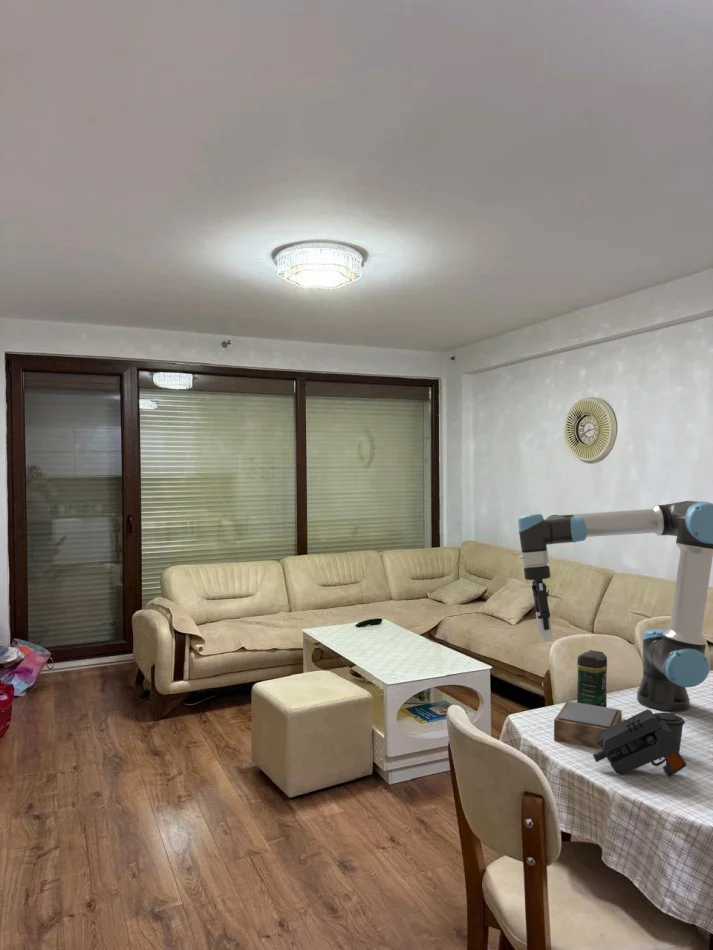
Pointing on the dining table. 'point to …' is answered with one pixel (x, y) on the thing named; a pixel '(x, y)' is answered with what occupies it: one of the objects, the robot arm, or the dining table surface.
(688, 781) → the dining table surface
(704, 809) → the dining table surface
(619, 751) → the grey toy blaster gun
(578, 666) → the coffee jar
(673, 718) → the coffee cup
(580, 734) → the wooden block
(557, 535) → the robot arm
